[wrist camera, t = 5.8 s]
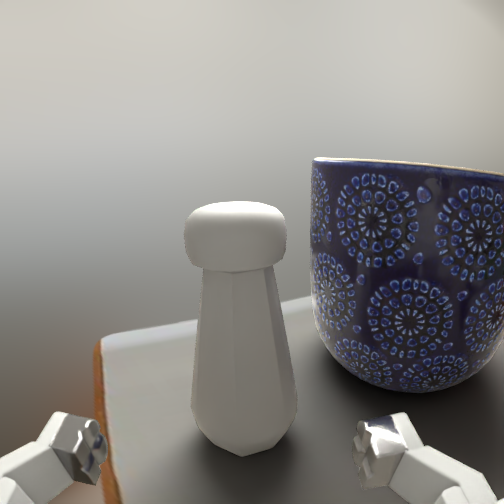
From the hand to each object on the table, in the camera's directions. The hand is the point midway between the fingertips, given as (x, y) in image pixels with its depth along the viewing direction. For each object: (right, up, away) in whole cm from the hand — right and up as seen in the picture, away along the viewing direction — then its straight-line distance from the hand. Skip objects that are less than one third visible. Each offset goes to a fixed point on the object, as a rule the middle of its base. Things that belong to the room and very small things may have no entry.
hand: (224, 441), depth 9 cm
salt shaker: (+1, -5, +9) cm, 10 cm away
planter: (+13, -3, +15) cm, 20 cm away
